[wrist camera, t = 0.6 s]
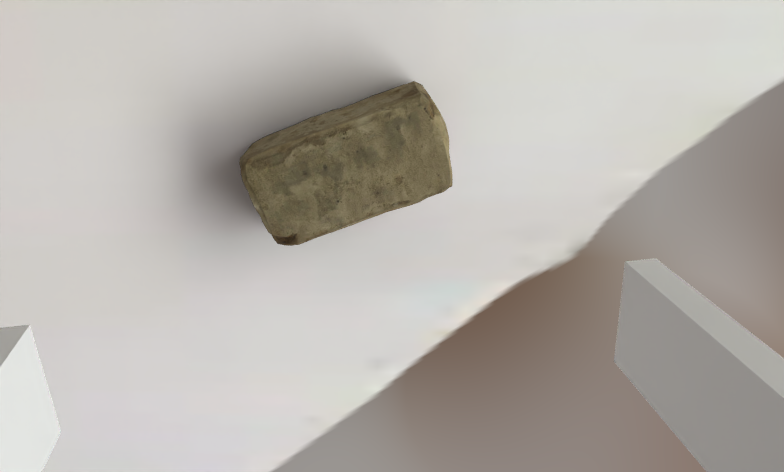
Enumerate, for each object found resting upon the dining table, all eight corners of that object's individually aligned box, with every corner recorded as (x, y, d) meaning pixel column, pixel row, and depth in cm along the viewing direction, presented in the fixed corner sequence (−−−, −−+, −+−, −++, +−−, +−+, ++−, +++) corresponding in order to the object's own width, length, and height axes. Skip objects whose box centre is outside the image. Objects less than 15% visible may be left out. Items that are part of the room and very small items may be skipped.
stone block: (236, 143, 38) (230, 165, 33) (420, 72, 38) (439, 84, 33) (276, 229, 40) (275, 261, 35) (449, 162, 40) (471, 184, 36)
